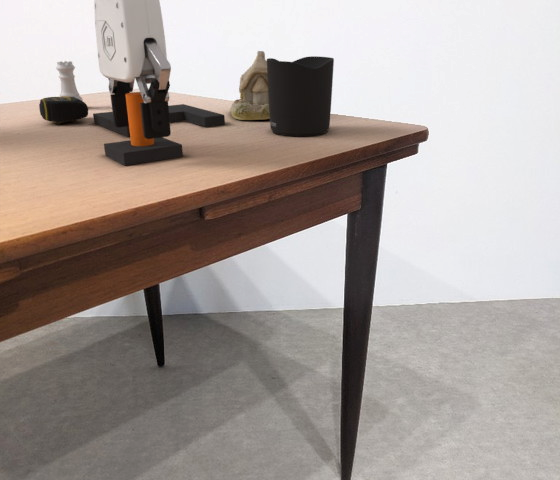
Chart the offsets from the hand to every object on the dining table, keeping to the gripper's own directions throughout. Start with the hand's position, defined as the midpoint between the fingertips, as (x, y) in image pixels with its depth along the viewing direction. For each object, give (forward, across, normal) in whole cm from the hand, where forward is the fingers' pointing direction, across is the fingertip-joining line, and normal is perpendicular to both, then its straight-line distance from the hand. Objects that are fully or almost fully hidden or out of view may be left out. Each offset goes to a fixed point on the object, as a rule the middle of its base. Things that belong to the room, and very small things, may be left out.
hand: (141, 130), depth 74 cm
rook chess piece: (+3, -44, +5) cm, 44 cm away
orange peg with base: (+3, 0, 0) cm, 3 cm away
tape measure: (+3, -31, 0) cm, 31 cm away
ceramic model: (+3, -17, +29) cm, 34 cm away
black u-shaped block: (+3, -20, +11) cm, 23 cm away
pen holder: (+3, -1, +25) cm, 25 cm away
